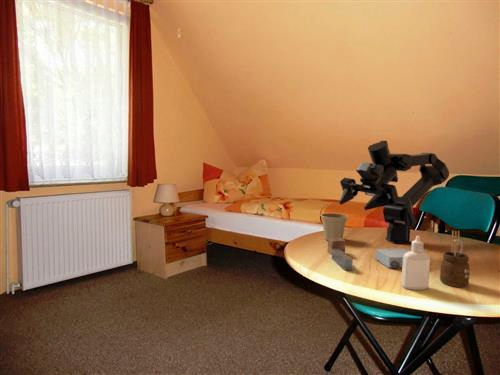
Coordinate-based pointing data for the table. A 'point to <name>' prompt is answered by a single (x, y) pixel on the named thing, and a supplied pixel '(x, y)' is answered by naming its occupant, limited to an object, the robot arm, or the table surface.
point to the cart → (391, 257)
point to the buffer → (342, 259)
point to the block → (336, 244)
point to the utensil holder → (455, 266)
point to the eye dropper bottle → (416, 267)
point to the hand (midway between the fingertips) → (352, 205)
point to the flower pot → (333, 225)
